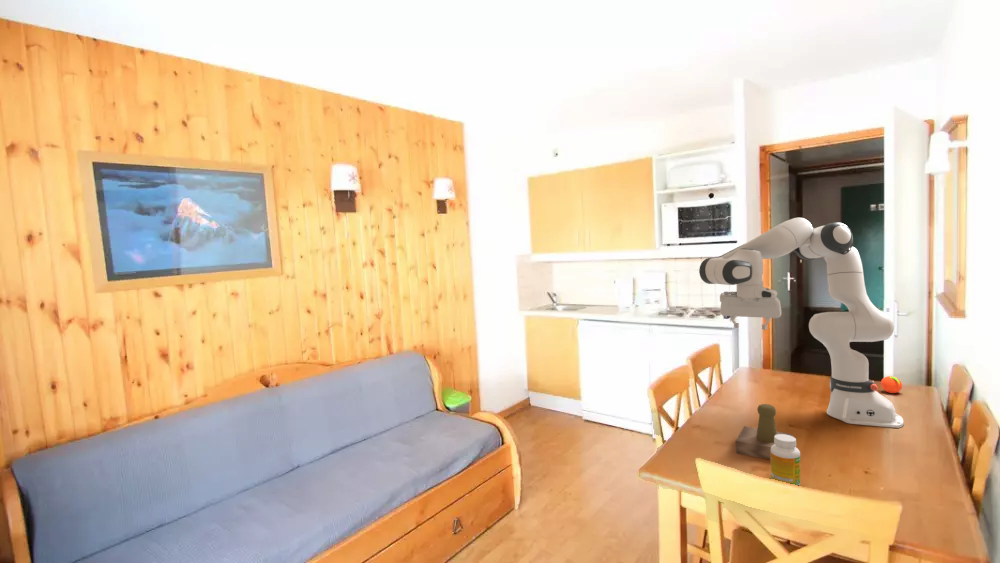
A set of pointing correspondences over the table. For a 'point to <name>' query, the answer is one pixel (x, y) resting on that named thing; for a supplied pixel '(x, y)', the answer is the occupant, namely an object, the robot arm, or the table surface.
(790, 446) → the supplement bottle
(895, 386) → the clementine
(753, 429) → the walnut plinth
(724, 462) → the table surface
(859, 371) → the robot arm
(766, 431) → the olive pawn
